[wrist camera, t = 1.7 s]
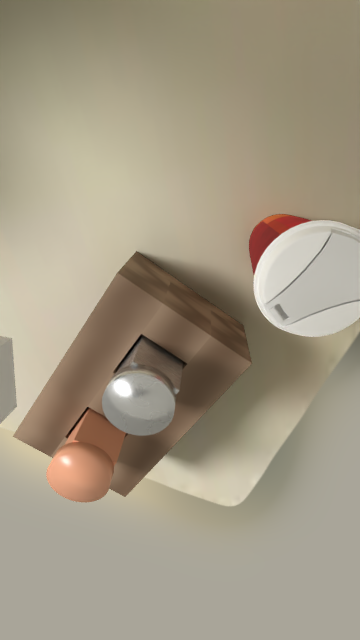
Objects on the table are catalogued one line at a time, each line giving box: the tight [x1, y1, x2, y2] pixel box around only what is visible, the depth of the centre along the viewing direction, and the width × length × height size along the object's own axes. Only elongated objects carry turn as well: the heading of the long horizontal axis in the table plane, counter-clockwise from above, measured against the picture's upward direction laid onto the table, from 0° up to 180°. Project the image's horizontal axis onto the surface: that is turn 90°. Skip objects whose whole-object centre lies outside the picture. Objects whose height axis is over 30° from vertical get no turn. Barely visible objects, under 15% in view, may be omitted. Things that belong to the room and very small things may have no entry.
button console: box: [13, 251, 252, 497], centre depth 36 cm, size 14×22×8 cm, turn 145°
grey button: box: [102, 334, 183, 436], centre depth 29 cm, size 6×6×8 cm
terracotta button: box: [47, 407, 126, 502], centre depth 33 cm, size 6×6×8 cm
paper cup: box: [249, 214, 360, 337], centre depth 27 cm, size 8×8×14 cm
